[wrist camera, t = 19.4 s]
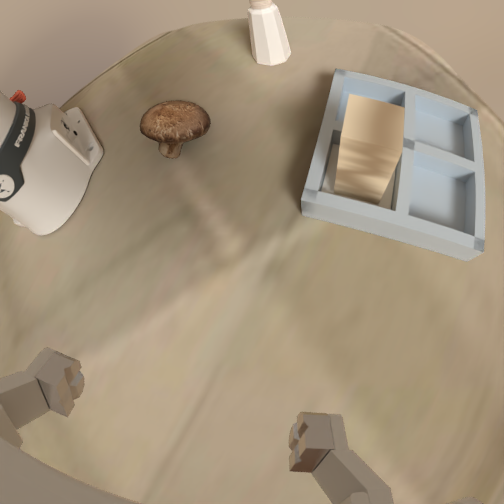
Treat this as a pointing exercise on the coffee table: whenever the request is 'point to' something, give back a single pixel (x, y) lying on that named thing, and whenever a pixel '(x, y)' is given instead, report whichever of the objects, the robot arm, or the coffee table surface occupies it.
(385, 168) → the birch block
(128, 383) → the coffee table surface
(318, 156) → the divided tray
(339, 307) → the coffee table surface
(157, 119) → the mushroom
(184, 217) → the coffee table surface
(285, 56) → the pepper shaker
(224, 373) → the coffee table surface
